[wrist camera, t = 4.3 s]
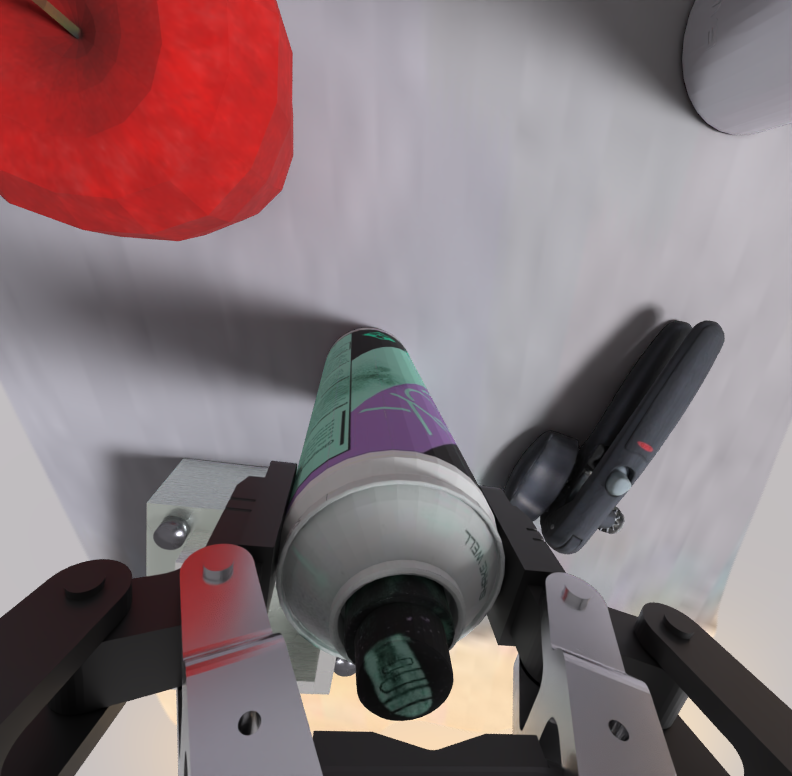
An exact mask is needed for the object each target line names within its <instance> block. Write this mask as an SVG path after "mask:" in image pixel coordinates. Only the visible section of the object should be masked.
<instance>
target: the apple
mask: <svg viewBox="0 0 792 776" xmlns="http://www.w3.org/2000/svg"><path fill="white" fill-rule="evenodd" d="M292 56H293V53H292V50H291V47H290V43H289V40H288V37H287V34H286V30H285V27H284V24H283V21H282V18H281V14H280V11H279V8H278V5H277V1H276V0H0V195H1V196H2V197H3V198H4V199H5V200H6V201H7V202H9V203H11V204H13V205H16V206H19V207H22V208H24V209H27V210H30V211H33V212H35V213H38V214H41V215H44V216H46V217H49V218H52V219H55V220H57V221H60V222H63V223H66V224H68V225H71V226H74V227H77V228H80V229H82V230H87V231H92V232H98V233H103V234H109V235H114V236H120V237H132V238H145V239H158V240H170V241H181V240H186V239H190V238H194V237H198V236H203V235H207V234H209V233H212V232H214V231H217V230H219V229H222V228H224V227H227V226H229V225H232V224H234V223H237V222H240V221H242V220H245V219H247V218H249V217H251V216H254V215H256V214H258V213H259V212H260V211H261V210H262V209H263V208H264V207H265V206H266V205H267V204H268V203H269V202H270V201H271V200H272V199H273V198H274V197H275V196H276V195H277V194H278V193H279V192H280V191H281V190H282V188H283V185H284V182H285V179H286V176H287V173H288V170H289V167H290V164H291V161H292V158H293V108H292Z"/></svg>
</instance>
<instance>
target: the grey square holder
mask: <svg viewBox="0 0 792 776" xmlns="http://www.w3.org/2000/svg"><path fill="white" fill-rule="evenodd" d="M267 471H268V468H264V467H256V466H247V465H238V464H230V463H221V462H212V461H204V460H195V459H186V458H183V460H182V461H181V462H180V463H179V464H178V466H177V467H176V468H175V469H174V470H173V472H172V473H171V474H170V475H169V476H168V478H167V479H166V480H165V481H164V482H163V484H162V485H161V486H160V487H159V488H158V490H157V491H156V492H155V493H154V495H153V496H152V497H151V498H150V499H149V501H148V502H147V533H146V576H152V575H158V574H164V573H168V572H171V571H175V570H177V569H179V568H181V566H182V564H183V563H184V561H185V560H186V559H187V558H188V557H189V556H190V555H191V554H193V553H194V552H196V551H197V550H199V549H202V548H204V547H205V546H206V544H207V542H208V540H209V538H210V536H211V534H212V532H213V530H214V529H215V527H216V525H217V523H218V521H219V519H220V517H221V515H222V513H223V511H224V510H225V507H226V505H227V503H228V501H229V500H230V497H231V495H232V493H233V491H234V489H235V487H236V485H237V484H239V483H240V482H241V481H243V480H244V479H246V478H247V477H248V476H256V477H265V476H266V473H267ZM296 473H297V471H296ZM268 618H269V622H270V626H271V629H272V632H273V634H275V633H278V632H280V633H281V634H282V636H283V638H284V640H285V643H286V646H287V650H288V653H289V657H290V660H291V664H292V668H293V671H294V675H295V678H296V682H297V685H298V689H299V692H300V693H303V694H329V692H330V687H331V682H332V677H333V672H335V673H336V674H337V675H339V676H351V675H353V674H354V673H356V667H355V665H354V664H352V663H350V662H348V661H347V660H345V659H342V658H339V657H336V656H332V655H330V654H328V653H326V652H324V651H322V650H320V649H318V648H317V647H315V646H313V645H312V644H311V643H309V642H308V641H307V640H306V639H304V638H303V637H302V636H300V635H299V634H298V632H297V631H296V630H295V629H294V628H293V626H292V625H291V624H290V623H289V622H288V620H287V618H286V616H285V614H284V612H283V610H282V608H281V606H280V604H279V599H278V594H277V590H276V582H275V586H274V591H273V595H272V599H271V603H270V607H269V612H268ZM173 689H176V688H173Z"/></svg>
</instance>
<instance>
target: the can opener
mask: <svg viewBox="0 0 792 776" xmlns="http://www.w3.org/2000/svg"><path fill="white" fill-rule="evenodd" d="M723 343H724V332H723V330H722V328H721V326H720V325H719V324H718V323H716V322H713V321H703V322H700V323H698V324H696V325H695V326H694V327H693V328H692V327H691V325H690V324H688V323H686V322H682V321H677V322H672V323H670V324H669V325H667V326H666V327H665V328H664V329H663V330H662V331H661V332H660V334H659V335H658V336H657V337H656V338H655V340H654V341H653V342H652V343H651V345H650V346H649V347H648V348H647V350H646V351H645V352H644V354H643V355H642V356H641V358H640V359H639V361H638V362H637V364H636V365H635V366H634V367H633V369H632V371H631V372H630V374H629V375H628V377H627V378H626V380H625V381H624V383H623V384H622V386H621V388H620V390H619V391H618V392H617V394H616V396H615V397H614V399H613V401H612V402H611V404H610V406H609V407H608V409H607V411H606V412H605V414H604V416H603V417H602V419H601V421H600V422H599V423H598V425H597V427H596V428H595V430H594V432H593V433H592V434H591V436H590V437H589V438H588V440H587V441H586V442H585V444H584V445H583V446H582V447H581V448H580V449H578V448H579V445H578V440H576V439H574V438H571V437H568V436H566V435H563V434H560V433H557V432H554V431H547V432H545V433H544V434H542V435H541V436H540V437H539V438H538V439H537V440H536V441H535V442H534V443H533V444H532V445H531V446H530V447H529V448H528V449H527V450H526V452H525V453H524V454H523V456H522V457H521V458H520V460H519V461H518V463H517V465H516V466H515V468H514V470H513V472H512V474H511V476H510V478H509V480H508V483H507V485H506V487H505V490H504V494H505V495H506V497H507V498H508V500H509V502H510V503H511V505H512V506H517V507H518V508H519V509H520V510H521V511H522V512H524V513H525V514H526V515H527V516H528V517H529V518H530V519H531V521H532V522H533V521H535V520H536V519H537V518H538V517H539V516H540V525H541V528H542V529H541V530H542V534H543V537H544V539H545V541H546V542H547V543H548V545H549V546H550V547H551V548H553V549H554V550H555V551H557V552H559V553H562V554H573V553H576V552H577V551H579V550H580V549H581V548H582V547H583V546H584V545H585V544H586V542H587V541H588V540H589V539H590V537H591V536H592V535H593V534H594V533H595V531H596V530H597V529H599V531H603V532H607V533H609V534H614V533H618V532H619V531H620V530H621V529H622V528H623V526H624V516H623V514H622V513H621V511H620V510H619V509H618V508H617V507H616V505H617V504H618V502H619V501H620V500H621V499H622V498H623V497H624V495H625V494H626V493H627V492H628V490H629V489H630V488H631V486H632V485H633V484H634V482H635V481H636V480H637V479H638V477H639V476H640V475H641V473H642V472H643V471H644V470H645V468H646V467H647V466H648V464H649V463H650V461H651V460H652V459H653V457H654V456H655V455H656V453H657V452H658V451H659V449H660V447H661V446H662V445H663V443H664V442H665V440H666V439H667V438H668V436H669V434H670V433H671V432H672V430H673V429H674V427H675V426H676V424H677V423H678V421H679V420H680V418H681V417H682V415H683V414H684V412H685V411H686V409H687V407H688V406H689V404H690V402H691V401H692V400H693V398H694V396H695V395H696V393H697V391H698V390H699V388H700V386H701V384H702V383H703V381H704V379H705V378H706V376H707V374H708V372H709V371H710V369H711V367H712V365H713V363H714V361H715V360H716V358H717V355H718V354H719V352H720V350H721V348H722V346H723Z"/></svg>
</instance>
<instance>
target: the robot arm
mask: <svg viewBox="0 0 792 776" xmlns="http://www.w3.org/2000/svg"><path fill="white" fill-rule="evenodd" d="M682 62H683V75H684V81H685V85H686V88H687V92H688V96H689V98H690V100H691V102H692V104H693V106H694V107H695V109H696V111H697V112H698V114H699V115H700V116H701V117H702V118H703V119H704V120H705V121H706V122H707V123H708V124H709V125H711V126H713V127H714V128H716V129H717V130H719V131H722V132H725V133H729V134H733V135H751V134H755V133H759V132H762V131H766V130H770V129H773V128H776V127H780V126H783V125H786V124H790V123H792V0H695V3H694V5H693V7H692V10H691V12H690V15H689V19H688V23H687V27H686V31H685V35H684V43H683V54H682ZM296 471H297V464H295V463H287V462H278V461H271V463H270V466H269V468H268V471H267V473H266V476H265V477H256V476H248V477H247V478H246V479H244V480H243V481H241V482H240V483H239V484H237V485H236V487H235V489H234V491H233V493H232V495H231V497H230V500H229V501H228V503H227V505H226V507H225V510H224V511H223V513H222V515H221V517H220V519H219V521H218V523H217V525H216V527H215V529H214V530H213V532H212V534H211V536H210V538H209V540H208V542H207V544H206V546H205V547H204V548H202V549H199V550H197V551H196V552H194V553H193V554H191V555H190V556H189V557H188V558H187V559H186V560H185V561H184V563H183V564H182V566H181V568H179V569H177V570H175V571H171V572H168V573H164V574H158V575H152V576H146V577H140V578H134V579H132V574H131V571H130V569H129V568H128V567H127V566H126V565H125V564H123V563H121V562H118V561H115V560H106V559H100V560H91V561H86V562H82V563H79V564H76V565H73V566H70V567H68V568H66V569H64V570H62V571H60V572H59V573H57V574H55V575H54V576H52V577H51V578H50V579H48V580H47V581H46V582H45V583H43V584H42V585H41V586H40V587H38V588H37V589H36V590H35V591H33V592H32V593H31V594H30V595H29V596H27V597H26V598H25V599H23V600H22V601H21V602H20V603H18V604H17V605H16V606H15V607H13V608H12V609H11V610H10V611H9V612H7V613H6V614H5V615H4V616H2V617H1V618H0V776H74V775H75V774H76V772H77V771H78V770H79V768H80V767H81V765H82V764H83V763H84V761H85V760H86V758H87V757H88V756H89V754H90V753H91V751H92V750H93V749H94V747H95V746H96V744H97V743H98V742H99V740H100V739H101V737H102V736H103V734H104V733H105V732H106V730H107V729H108V727H109V726H110V724H111V723H112V722H113V720H114V719H115V718H116V716H117V715H118V713H119V712H120V710H121V709H122V708H123V706H124V705H125V703H126V702H127V701H130V700H134V699H137V698H141V697H144V696H148V695H152V694H155V693H159V692H162V691H166V690H169V689H173V688H176V696H177V737H178V776H730V775H729V774H728V773H727V771H726V770H725V769H724V768H723V767H722V766H721V764H720V763H719V762H718V761H717V760H716V759H715V758H714V756H713V755H712V754H711V753H710V752H709V750H708V749H707V748H706V747H705V746H704V744H703V743H702V742H701V741H700V740H699V739H698V737H697V736H696V735H695V734H694V733H693V732H692V731H691V729H690V728H689V727H688V726H687V725H686V724H685V723H684V721H683V720H682V719H681V718H680V717H679V715H678V713H679V711H680V710H681V708H682V706H683V705H684V703H685V701H686V699H687V698H688V697H689V698H690V699H691V700H692V701H693V702H694V703H695V704H696V705H697V706H698V707H699V709H700V710H701V711H702V712H703V713H704V714H705V715H706V716H707V717H708V718H709V720H710V721H711V722H712V723H713V724H714V725H715V726H716V727H717V728H718V730H719V731H720V732H721V733H722V734H723V735H724V736H725V737H726V738H727V739H728V740H729V742H730V743H731V744H732V745H733V746H734V748H735V749H736V751H737V752H738V754H739V756H740V758H741V760H742V763H743V767H744V776H792V710H791V709H790V708H789V707H788V706H787V705H786V704H785V703H784V702H782V701H781V700H780V699H779V698H778V697H777V696H776V695H775V694H774V693H773V692H772V691H770V690H769V689H768V688H767V687H766V686H765V685H764V684H763V683H762V682H761V681H759V680H758V679H757V678H756V677H755V676H754V675H753V674H752V673H751V672H750V671H748V670H747V669H746V668H745V667H744V666H743V665H742V664H741V663H739V662H738V661H737V660H736V659H735V658H734V657H733V656H732V655H731V654H730V653H729V652H727V651H726V650H725V649H724V648H723V647H722V646H721V645H720V644H719V643H718V642H716V641H715V640H714V639H713V638H712V637H711V636H710V635H709V634H708V633H707V632H705V631H704V630H703V629H702V628H701V627H700V626H699V625H698V624H697V623H695V622H694V621H693V620H692V619H690V618H689V617H688V616H686V615H685V614H683V613H681V612H680V611H678V610H676V609H674V608H672V607H670V606H667V605H664V604H660V603H647V604H645V605H644V606H643V608H642V610H641V612H640V614H639V616H638V617H636V616H633V615H630V614H627V613H624V612H621V611H618V610H615V609H612V608H609V607H607V605H606V602H605V600H604V599H603V597H602V596H601V594H600V593H599V592H598V591H597V590H596V589H595V588H594V587H592V586H591V585H590V584H589V583H587V582H586V581H584V580H582V579H580V578H578V577H576V576H574V575H571V574H568V573H566V572H565V571H564V569H563V568H562V566H561V565H560V563H559V562H558V560H557V559H556V557H555V555H554V554H553V552H552V551H551V549H550V548H549V546H548V545H547V543H546V542H544V539H543V537H542V536H541V534H540V533H539V532H538V531H537V528H536V527H535V525H534V524H533V522H532V521H531V519H530V518H529V517H528V516H527V515H526V514H525V513H524V512H522V511H521V510H520V509H519V508H518V507H517V506H512V505H511V503H510V502H509V500H508V498H507V497H506V495H505V494H504V492H503V490H502V489H501V488H495V487H486V486H479V488H480V490H481V491H482V493H483V495H484V497H485V499H486V501H487V503H488V505H489V507H490V509H491V511H492V513H493V515H494V518H495V523H496V527H497V532H498V534H499V536H500V538H501V541H502V545H503V550H504V555H505V575H504V578H503V582H502V586H501V590H500V593H499V595H498V597H497V598H496V600H495V602H494V604H493V606H492V608H491V609H490V611H489V612H488V613H487V616H488V619H489V621H490V624H491V627H492V630H493V632H494V635H495V638H496V641H497V643H498V645H505V646H516V648H517V651H518V655H517V658H516V660H515V663H514V671H513V734H484V735H481V736H478V737H475V738H472V739H469V740H466V741H463V742H460V743H457V744H454V745H451V746H448V747H445V748H442V749H439V750H427V749H424V748H420V747H417V746H415V745H411V744H408V743H405V742H402V741H399V740H396V739H393V738H390V737H386V736H383V735H380V734H377V733H374V732H348V731H314V733H313V738H312V735H311V732H310V728H309V724H308V721H307V717H306V714H305V710H304V707H303V703H302V700H301V696H300V692H299V689H298V685H297V682H296V678H295V675H294V671H293V668H292V664H291V660H290V657H289V653H288V650H287V646H286V643H285V640H284V638H283V636H282V634H281V633H280V632H278V633H275V634H273V632H272V629H271V626H270V622H269V618H268V612H269V607H270V603H271V599H272V595H273V591H274V586H275V582H276V572H277V564H278V557H279V548H280V540H281V533H282V528H283V524H284V520H285V516H286V512H287V509H288V505H289V501H290V497H291V493H292V489H293V486H294V482H295V478H296Z"/></svg>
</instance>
